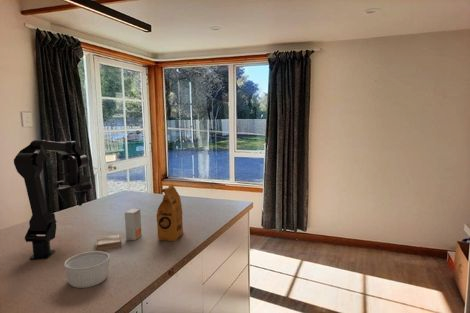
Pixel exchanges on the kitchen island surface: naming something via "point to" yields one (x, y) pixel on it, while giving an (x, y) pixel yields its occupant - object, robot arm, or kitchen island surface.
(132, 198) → the kitchen island surface
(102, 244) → the plinth
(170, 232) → the coffee package
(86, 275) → the ramekin
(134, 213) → the skincare box
